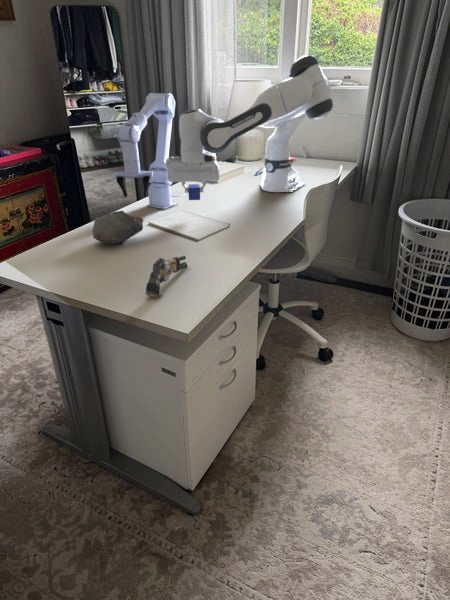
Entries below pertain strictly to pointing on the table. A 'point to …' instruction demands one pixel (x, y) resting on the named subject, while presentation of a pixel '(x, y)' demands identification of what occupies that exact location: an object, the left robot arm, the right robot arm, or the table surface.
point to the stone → (116, 227)
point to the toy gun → (163, 273)
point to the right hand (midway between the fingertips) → (194, 192)
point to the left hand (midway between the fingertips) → (135, 196)
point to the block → (194, 191)
